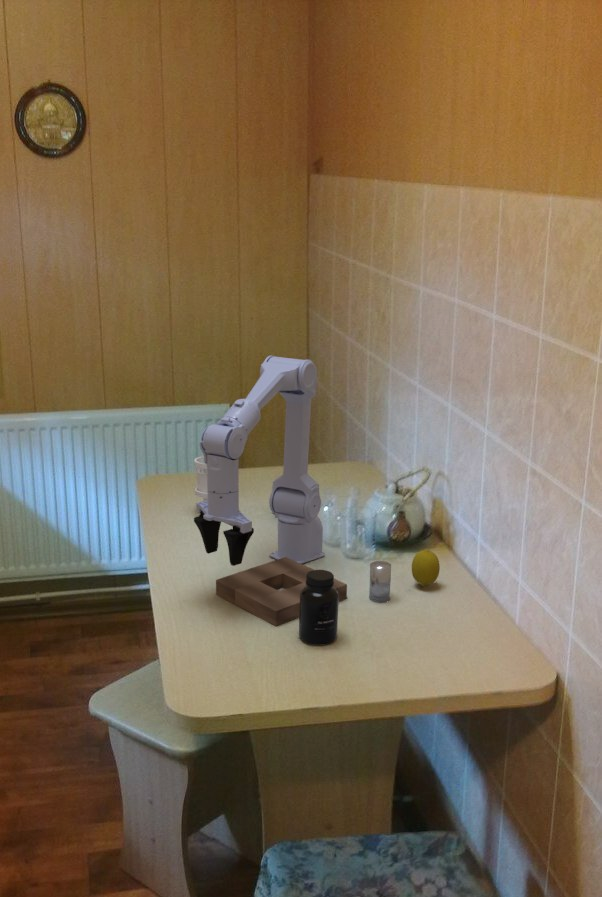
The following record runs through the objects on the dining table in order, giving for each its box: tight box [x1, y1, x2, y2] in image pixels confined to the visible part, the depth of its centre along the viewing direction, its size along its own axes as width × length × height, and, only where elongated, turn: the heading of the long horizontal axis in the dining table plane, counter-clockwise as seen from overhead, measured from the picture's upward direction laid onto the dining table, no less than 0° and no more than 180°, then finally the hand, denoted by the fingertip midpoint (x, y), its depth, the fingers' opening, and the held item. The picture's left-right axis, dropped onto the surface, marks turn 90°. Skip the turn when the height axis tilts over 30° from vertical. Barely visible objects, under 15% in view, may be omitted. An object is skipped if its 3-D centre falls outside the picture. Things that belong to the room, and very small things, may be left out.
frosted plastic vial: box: [368, 560, 392, 604], centre depth 180 cm, size 4×4×7 cm
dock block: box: [215, 557, 348, 627], centre depth 180 cm, size 18×18×3 cm
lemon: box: [411, 548, 440, 587], centre depth 185 cm, size 6×6×8 cm
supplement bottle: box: [298, 569, 340, 646], centre depth 163 cm, size 7×7×12 cm
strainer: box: [193, 455, 208, 502], centre depth 223 cm, size 7×7×15 cm
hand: (223, 557), depth 174 cm, fingers open, 7 cm apart
